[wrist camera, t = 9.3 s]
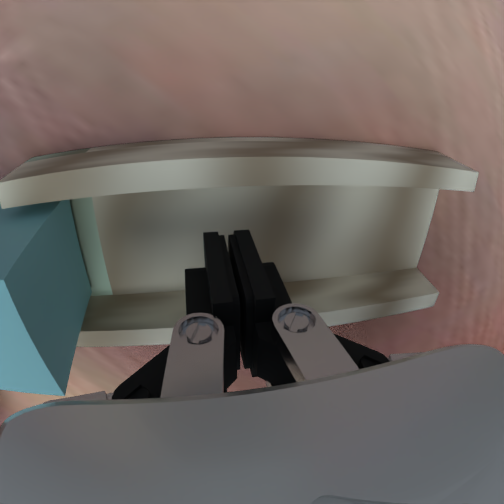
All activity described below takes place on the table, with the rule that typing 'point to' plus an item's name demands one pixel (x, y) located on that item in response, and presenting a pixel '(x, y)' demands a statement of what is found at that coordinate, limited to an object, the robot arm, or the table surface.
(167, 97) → the table surface
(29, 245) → the block
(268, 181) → the twin rail frame
